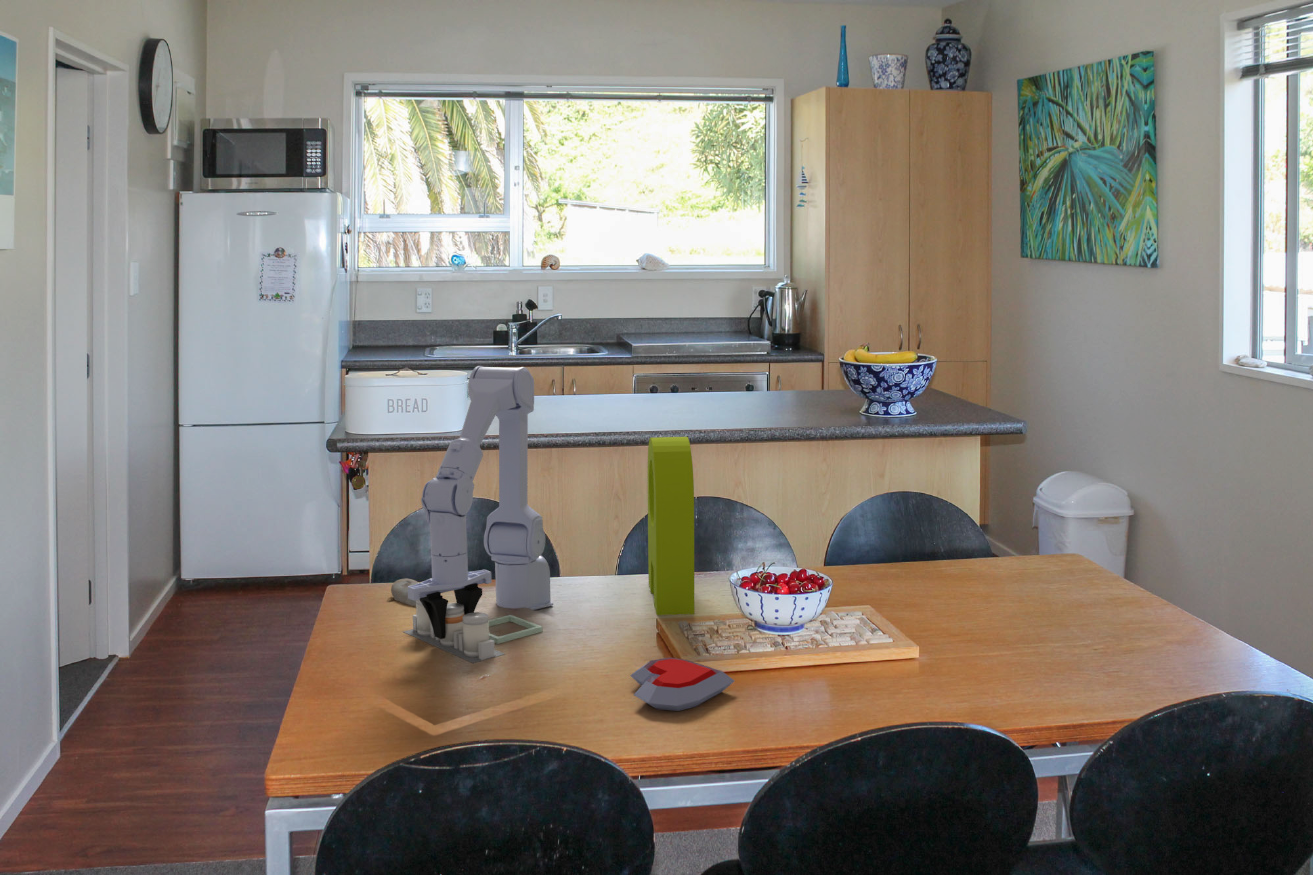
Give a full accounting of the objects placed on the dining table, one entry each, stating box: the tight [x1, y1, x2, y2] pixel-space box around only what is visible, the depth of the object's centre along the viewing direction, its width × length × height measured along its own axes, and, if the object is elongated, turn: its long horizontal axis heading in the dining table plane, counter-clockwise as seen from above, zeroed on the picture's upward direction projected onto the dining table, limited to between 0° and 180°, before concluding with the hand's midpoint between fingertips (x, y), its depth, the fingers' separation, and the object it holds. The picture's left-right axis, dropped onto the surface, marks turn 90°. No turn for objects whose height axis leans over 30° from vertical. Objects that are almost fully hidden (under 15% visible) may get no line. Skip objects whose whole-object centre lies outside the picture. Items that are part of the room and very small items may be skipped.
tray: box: [489, 614, 543, 645], centre depth 195 cm, size 9×9×2 cm
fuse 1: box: [415, 600, 431, 636], centre depth 194 cm, size 4×4×6 cm
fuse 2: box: [463, 611, 490, 657], centre depth 184 cm, size 4×4×6 cm
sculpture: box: [630, 656, 735, 712], centre depth 169 cm, size 17×4×15 cm
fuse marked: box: [440, 602, 464, 647], centre depth 189 cm, size 4×4×6 cm
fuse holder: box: [402, 614, 506, 664], centre depth 189 cm, size 6×21×4 cm, turn 42°
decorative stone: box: [390, 578, 419, 608], centre depth 215 cm, size 6×16×3 cm, turn 32°
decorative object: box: [647, 436, 696, 616], centre depth 214 cm, size 20×7×30 cm, turn 5°
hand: (452, 634), depth 189 cm, fingers closed on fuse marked, 4 cm apart
